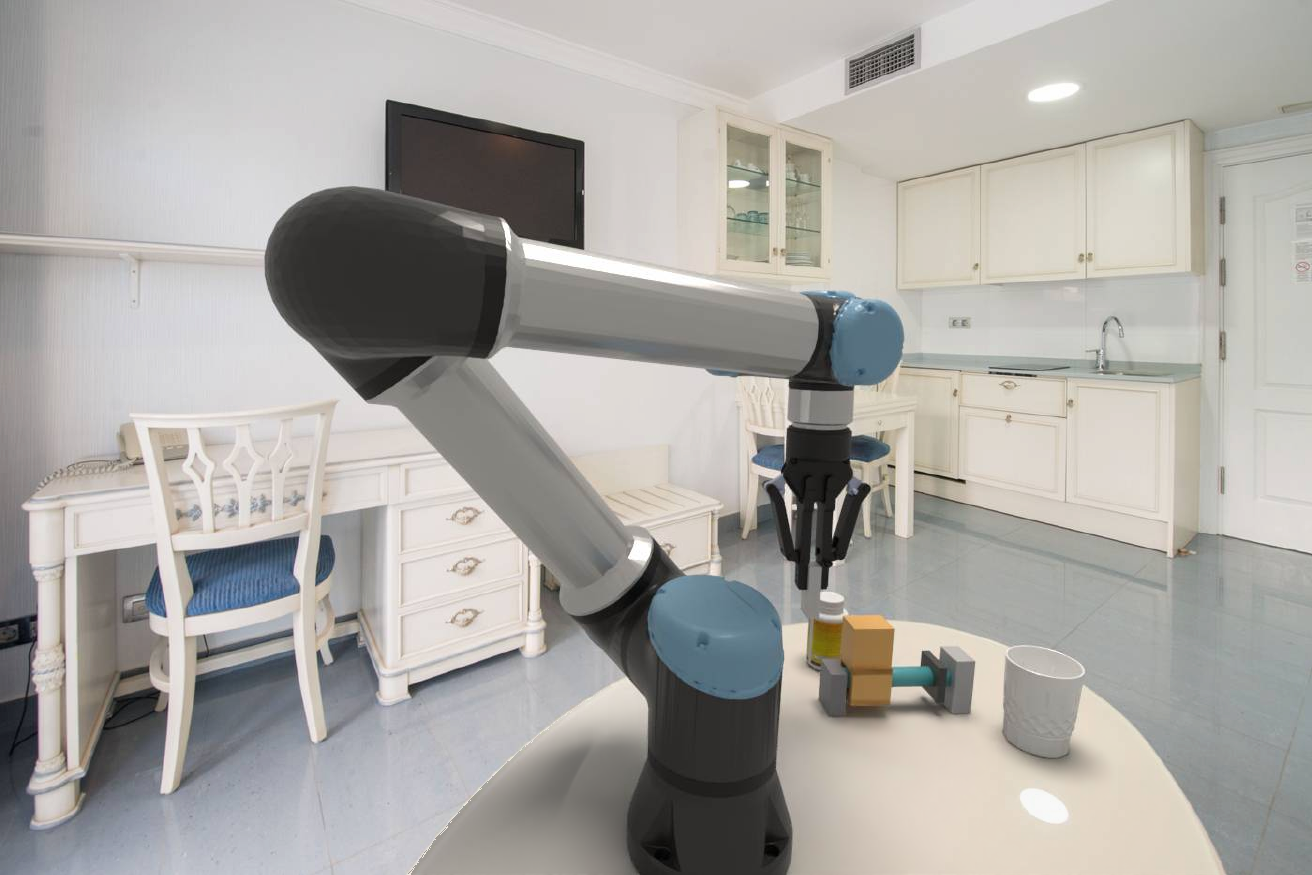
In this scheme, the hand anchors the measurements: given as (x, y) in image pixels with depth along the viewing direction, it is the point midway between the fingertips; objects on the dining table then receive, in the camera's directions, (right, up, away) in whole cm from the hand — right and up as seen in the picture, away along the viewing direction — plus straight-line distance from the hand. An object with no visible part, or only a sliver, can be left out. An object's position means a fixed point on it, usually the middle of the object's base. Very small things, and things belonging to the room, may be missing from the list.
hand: (809, 613), depth 79 cm
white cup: (+26, -14, -4) cm, 29 cm away
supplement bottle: (+5, -11, +13) cm, 18 cm away
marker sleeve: (+7, -11, +2) cm, 13 cm away
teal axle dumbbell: (+11, -13, +3) cm, 17 cm away
